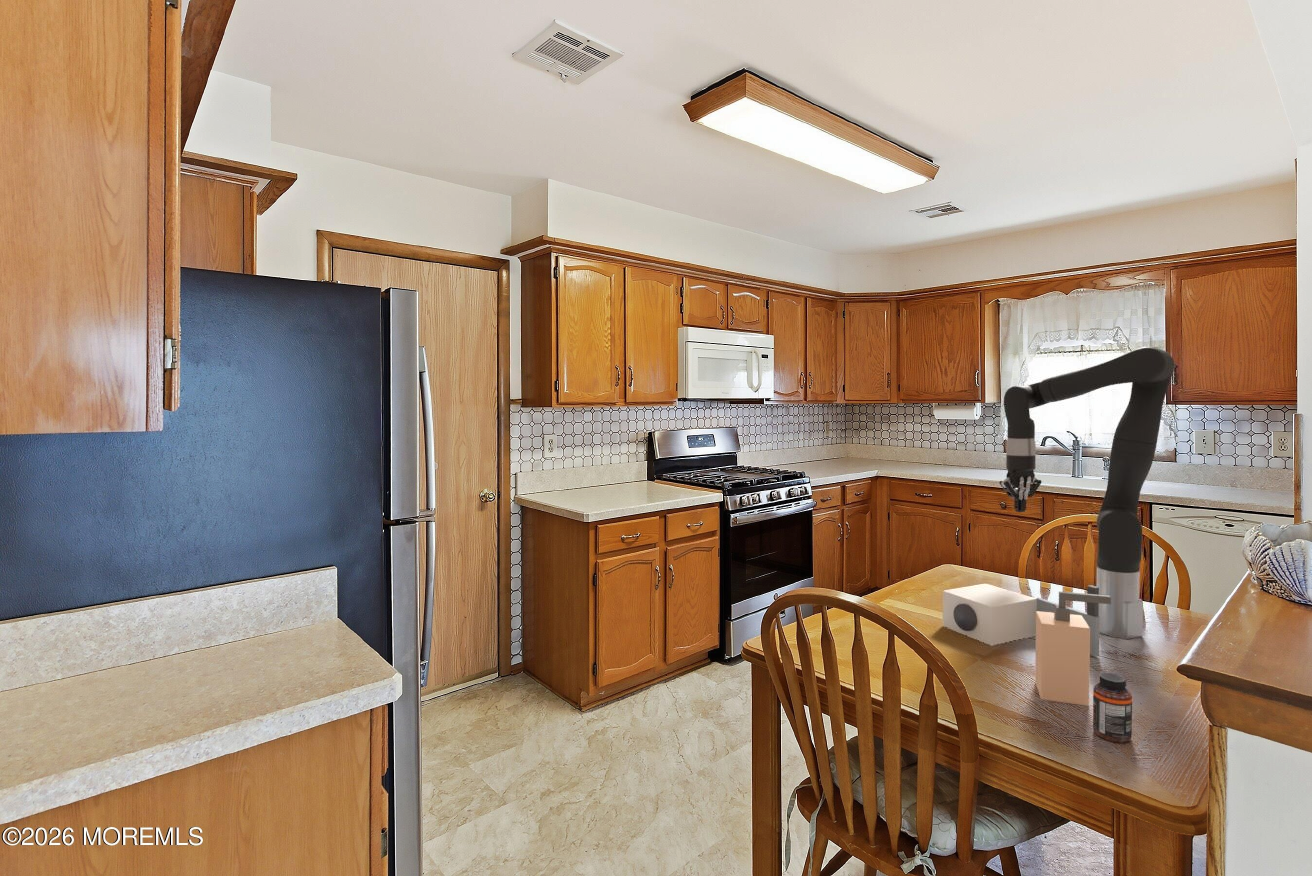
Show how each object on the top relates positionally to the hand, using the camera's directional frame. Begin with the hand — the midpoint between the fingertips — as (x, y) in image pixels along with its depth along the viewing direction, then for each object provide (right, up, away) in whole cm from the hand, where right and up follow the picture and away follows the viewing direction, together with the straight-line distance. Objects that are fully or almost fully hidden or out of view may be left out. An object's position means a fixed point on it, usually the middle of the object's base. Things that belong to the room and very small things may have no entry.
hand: (1020, 511), depth 192 cm
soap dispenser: (-20, -33, -55) cm, 67 cm away
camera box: (-18, -30, -16) cm, 39 cm away
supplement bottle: (-23, -34, -71) cm, 82 cm away
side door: (-4, -30, -28) cm, 42 cm away
